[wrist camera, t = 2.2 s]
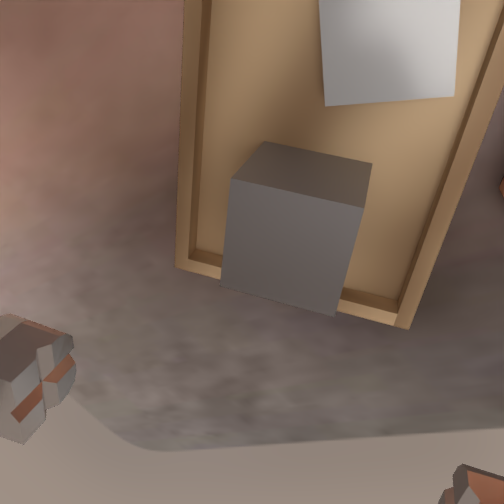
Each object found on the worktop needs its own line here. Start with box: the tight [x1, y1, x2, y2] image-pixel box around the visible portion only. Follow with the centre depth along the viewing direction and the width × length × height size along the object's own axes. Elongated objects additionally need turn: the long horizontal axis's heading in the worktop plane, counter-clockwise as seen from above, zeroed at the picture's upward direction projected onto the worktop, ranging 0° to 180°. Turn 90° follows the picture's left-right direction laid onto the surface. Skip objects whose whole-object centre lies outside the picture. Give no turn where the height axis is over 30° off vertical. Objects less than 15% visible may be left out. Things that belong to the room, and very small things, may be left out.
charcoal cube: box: [220, 141, 373, 317], centre depth 16 cm, size 4×4×4 cm
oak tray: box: [174, 0, 504, 330], centre depth 15 cm, size 10×20×1 cm, turn 173°
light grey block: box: [319, 0, 461, 107], centre depth 14 cm, size 4×3×2 cm
